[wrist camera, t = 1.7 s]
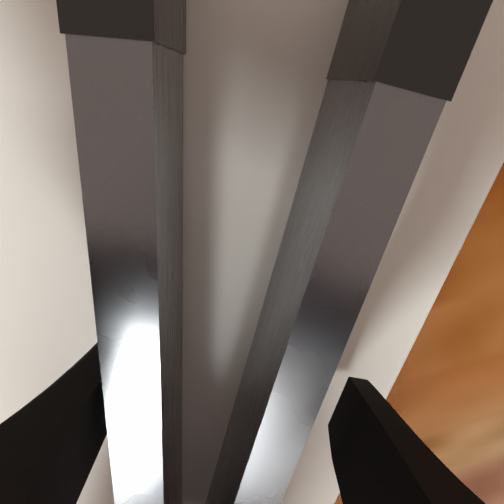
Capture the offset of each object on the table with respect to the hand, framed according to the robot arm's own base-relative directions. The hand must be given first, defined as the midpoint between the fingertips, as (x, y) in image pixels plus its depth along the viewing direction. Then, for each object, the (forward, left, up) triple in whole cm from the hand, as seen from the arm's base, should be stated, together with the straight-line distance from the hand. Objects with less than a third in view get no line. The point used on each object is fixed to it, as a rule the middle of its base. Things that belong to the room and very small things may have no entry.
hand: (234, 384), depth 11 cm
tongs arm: (+1, +2, -1) cm, 3 cm away
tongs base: (0, 0, -1) cm, 1 cm away
